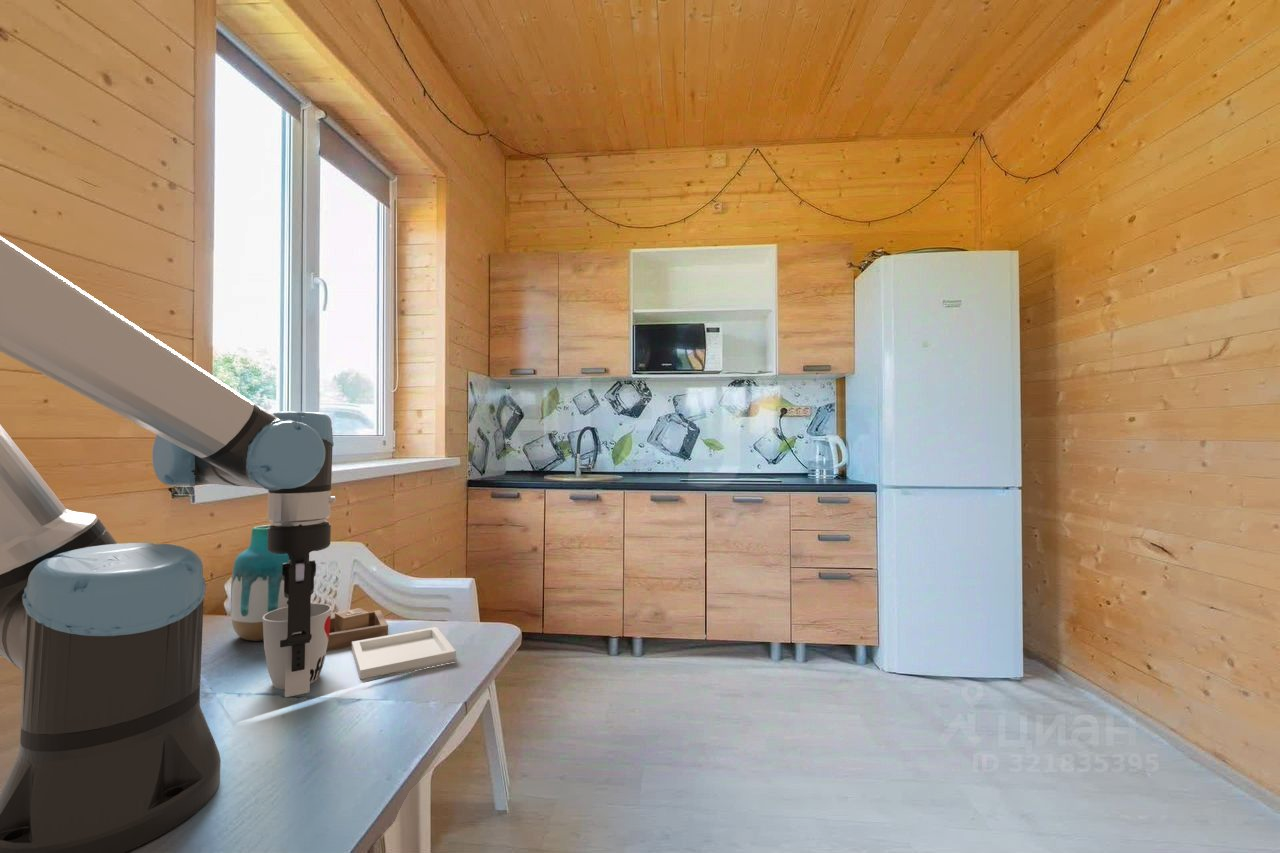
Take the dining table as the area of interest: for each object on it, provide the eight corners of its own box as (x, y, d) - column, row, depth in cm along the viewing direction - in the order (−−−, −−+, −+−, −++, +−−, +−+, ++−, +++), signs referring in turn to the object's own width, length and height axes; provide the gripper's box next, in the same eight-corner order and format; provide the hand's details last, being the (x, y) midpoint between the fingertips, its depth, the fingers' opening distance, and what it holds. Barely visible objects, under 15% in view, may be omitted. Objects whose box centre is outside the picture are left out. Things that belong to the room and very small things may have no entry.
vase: (238, 632, 95) (241, 524, 96) (308, 624, 99) (310, 520, 100) (221, 653, 85) (224, 533, 86) (299, 643, 90) (301, 528, 90)
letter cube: (368, 636, 92) (368, 612, 92) (343, 642, 89) (343, 617, 89) (359, 630, 94) (359, 607, 94) (334, 636, 91) (334, 612, 91)
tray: (455, 662, 82) (455, 650, 82) (360, 683, 75) (360, 670, 75) (436, 637, 93) (436, 626, 93) (351, 653, 86) (351, 641, 86)
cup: (296, 700, 70) (298, 623, 70) (245, 695, 71) (247, 619, 72) (343, 674, 78) (344, 605, 78) (295, 669, 79) (297, 601, 80)
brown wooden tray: (387, 643, 90) (388, 625, 90) (318, 655, 84) (318, 636, 85) (379, 626, 98) (379, 609, 98) (316, 636, 93) (316, 619, 93)
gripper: (336, 531, 67) (333, 703, 66) (326, 510, 88) (323, 641, 87) (263, 537, 63) (259, 720, 62) (270, 513, 84) (267, 651, 83)
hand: (296, 674), depth 74 cm, fingers open, 13 cm apart
